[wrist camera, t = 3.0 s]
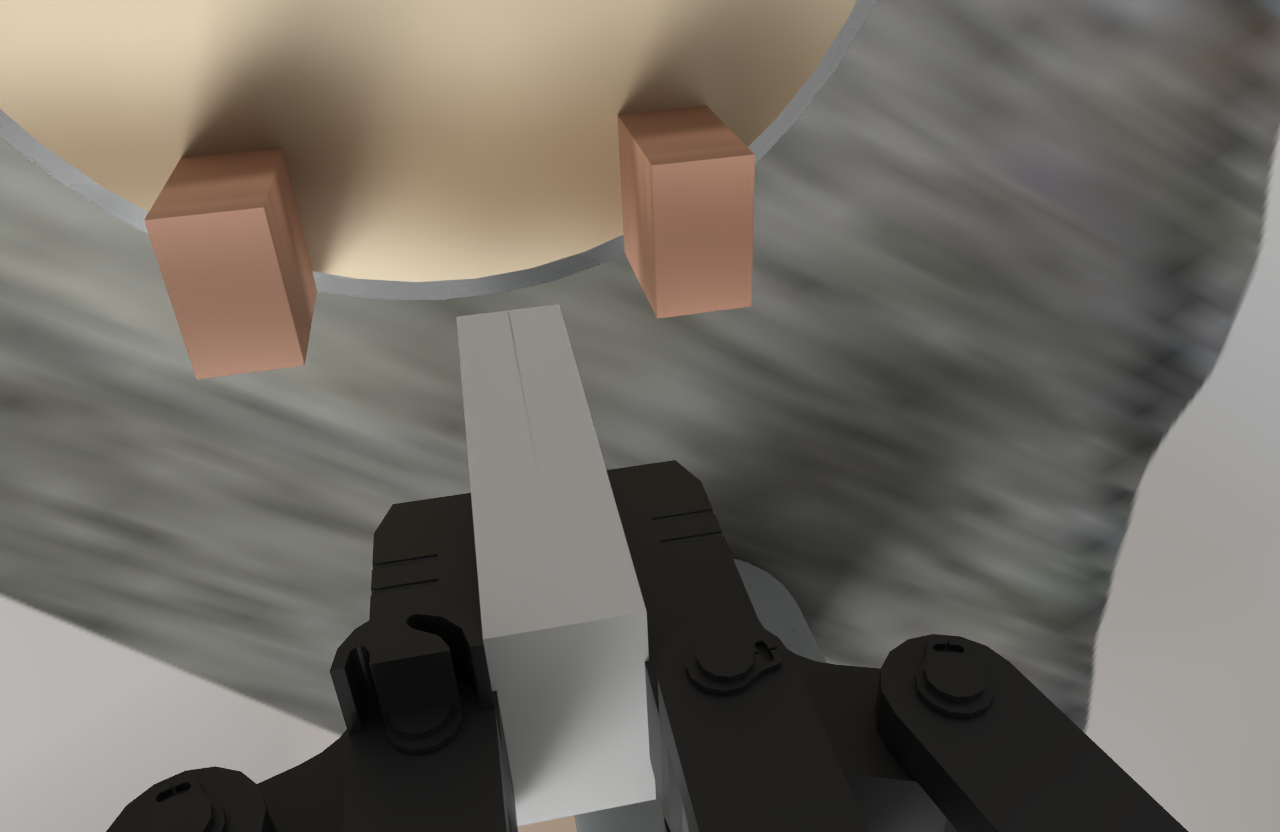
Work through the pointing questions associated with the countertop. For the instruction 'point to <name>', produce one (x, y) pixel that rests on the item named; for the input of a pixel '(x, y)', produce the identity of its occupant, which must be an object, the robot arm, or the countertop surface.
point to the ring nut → (412, 141)
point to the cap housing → (444, 289)
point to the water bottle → (643, 823)
